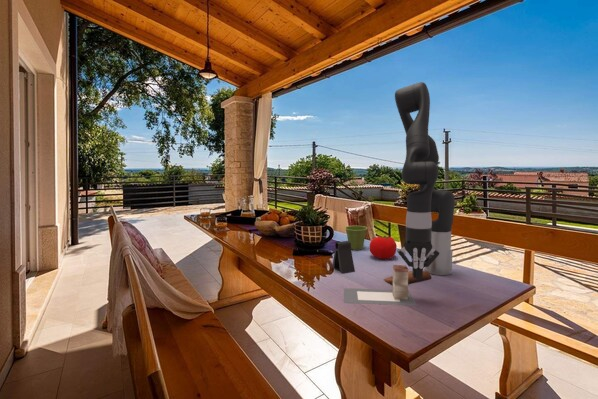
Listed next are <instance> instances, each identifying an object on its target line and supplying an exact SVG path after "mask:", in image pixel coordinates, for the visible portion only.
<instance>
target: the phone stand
mask: <svg viewBox="0 0 598 399" xmlns="http://www.w3.org/2000/svg"><path fill="white" fill-rule="evenodd" d="M334 249H335V250H334V254H333V259H332V265H331V267H332V269H334V270H335V271H337V272H339V273H340V274H347V273H353V272H354V273H355V271H356V269H355V263H354V259H353V253H352V249H351V242H350V241H348V240H343V241H336V242H335V244H334Z"/></svg>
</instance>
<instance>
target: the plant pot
mask: <svg viewBox="0 0 598 399" xmlns="http://www.w3.org/2000/svg"><path fill="white" fill-rule="evenodd" d="M344 229H345V232H346V236H347V241H350V242H351V250H353V251H360V250H363V249H364V244H365V239H366V238H365V237H366V235H367V234H366V233H367V230H368V227H367V226H364V225H348V226H345V227H344Z"/></svg>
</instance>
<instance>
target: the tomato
mask: <svg viewBox="0 0 598 399" xmlns="http://www.w3.org/2000/svg"><path fill="white" fill-rule="evenodd" d="M397 247H398V246H397V242H396V241H395V239H394V238H393V237H391V236H387V235H384V236H375V237H374V238H372V239H371V240H370V242H369V249H368V250H369V252H370V253H371V255H372V256H373V257H374V258H378V259H381V260H388V259H392V258H394V256H395V255H396V253H397Z"/></svg>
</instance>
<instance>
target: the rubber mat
mask: <svg viewBox="0 0 598 399" xmlns="http://www.w3.org/2000/svg"><path fill="white" fill-rule="evenodd" d="M343 303H344V304H360V305H361V304H365V305H390V306H391V305H393V306H413V307H417V306H418V305H417V303H416V301H415V299H414V297H413V295H412V294H411V292H410V290H409V289H408V300H398V299H394V297H393V289H381V288H380V289H379V288H378V289H377V288H376V289H375V288H374V289H373V288H372V289H371V288H350V287H349V288H347V287H345V288H343Z"/></svg>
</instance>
